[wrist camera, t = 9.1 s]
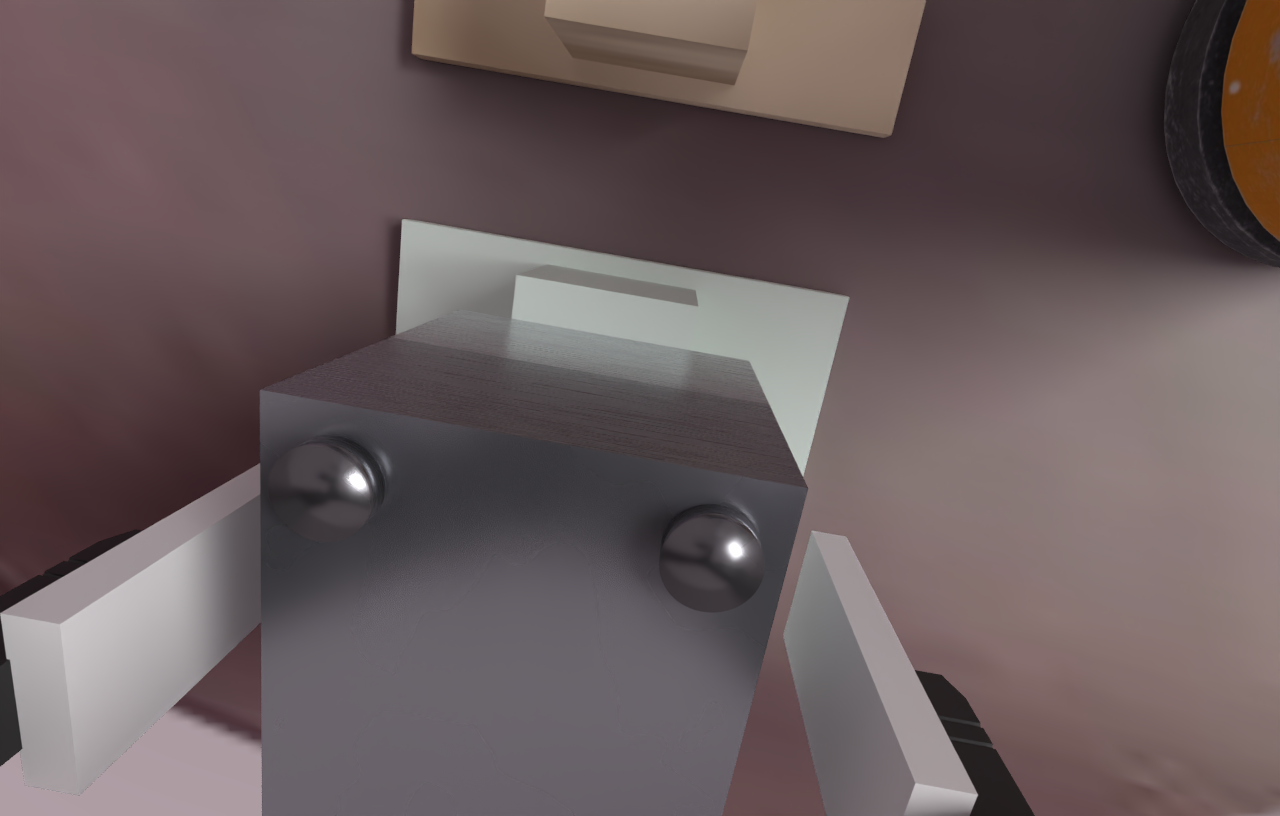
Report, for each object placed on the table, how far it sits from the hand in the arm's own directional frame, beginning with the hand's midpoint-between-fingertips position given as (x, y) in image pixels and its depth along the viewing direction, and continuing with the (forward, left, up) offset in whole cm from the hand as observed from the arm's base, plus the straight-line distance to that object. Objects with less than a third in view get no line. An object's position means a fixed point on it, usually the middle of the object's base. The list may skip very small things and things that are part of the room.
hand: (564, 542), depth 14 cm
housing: (0, 0, -1) cm, 1 cm away
